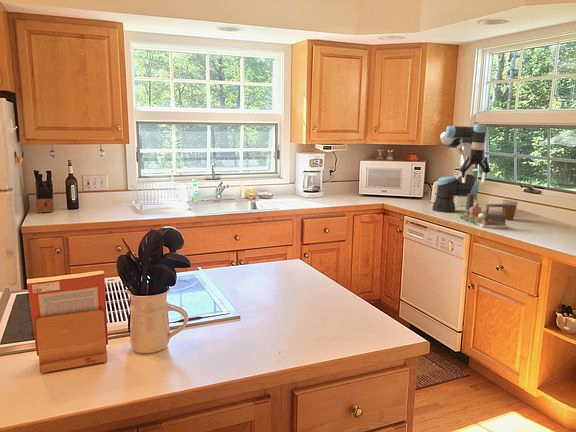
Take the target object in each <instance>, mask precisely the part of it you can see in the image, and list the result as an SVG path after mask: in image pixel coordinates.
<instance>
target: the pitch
mask: <svg viewBox="0 0 576 432" xmlns="http://www.w3.org/2000/svg"><path fill="white" fill-rule="evenodd" d="M502 207H504V213H503V215H502V214H489V211H490V208H502ZM507 207H508V205H507V204H502V203H501V204H498V203H486V204H485V213H484V212H482V211H481V213H483V214H484V215H485V218H484V219H481V218H479V217H476V216H474V215H471V214H470V213H468V212H465V211H462V215H460V216H459V219H461V220H463V221H465V222H468V223H470V224H472V223H473V224H472V225H475V226H478V227H479V228H482V229H483V228H484V229H486V228H489V229H490V228H492V229H493V228H494V229H496V228H497V229H499V228H502V229H503V228H504V229H505V228H508V224H506V223H507V222H506V221H507V220H505V219H506V212H507Z"/></svg>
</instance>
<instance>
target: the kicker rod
mask: <svg viewBox="0 0 576 432" xmlns="http://www.w3.org/2000/svg"><path fill="white" fill-rule="evenodd" d="M474 200H475V197H474V194H467V197H466V202H465V203H466V204H465V210H468V211H469V214H471V215H474V216H476V217H478V215H479V214H480V213H481V212H482V207H480V203H478V202H474Z"/></svg>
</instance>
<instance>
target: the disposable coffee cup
mask: <svg viewBox="0 0 576 432" xmlns="http://www.w3.org/2000/svg"><path fill="white" fill-rule="evenodd" d="M501 204H507V205H508V207H507V212H506V219H505V221H513V220H514V217H515V214H516V211H517V206H518V205H519V203H518V201H517V200H513V199H502V201H501ZM501 212H502V214H501V215H503V213H504V207H501Z"/></svg>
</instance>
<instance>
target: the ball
mask: <svg viewBox="0 0 576 432" xmlns="http://www.w3.org/2000/svg"><path fill="white" fill-rule="evenodd" d="M483 213H484V212H482V213H480V214H479V215H478V217H479V218H481V219H484V218H485V215H484V214H483Z"/></svg>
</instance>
